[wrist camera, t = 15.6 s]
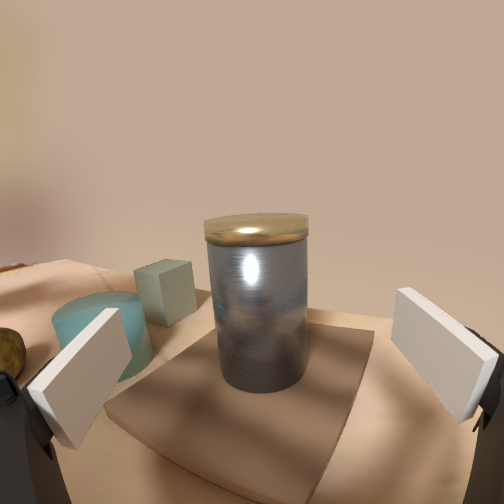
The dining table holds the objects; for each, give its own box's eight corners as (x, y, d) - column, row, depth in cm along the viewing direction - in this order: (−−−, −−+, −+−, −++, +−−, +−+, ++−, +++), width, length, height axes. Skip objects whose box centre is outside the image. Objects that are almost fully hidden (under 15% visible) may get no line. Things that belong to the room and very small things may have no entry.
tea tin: (285, 404, 18) (283, 226, 15) (202, 378, 21) (181, 225, 19) (317, 353, 24) (320, 213, 21) (247, 339, 28) (238, 213, 25)
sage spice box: (168, 327, 34) (158, 274, 33) (143, 319, 37) (133, 270, 35) (197, 310, 39) (191, 261, 38) (172, 304, 42) (165, 259, 40)
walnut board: (299, 516, 10) (301, 506, 10) (108, 417, 18) (102, 404, 18) (372, 343, 27) (374, 330, 26) (239, 322, 35) (238, 311, 34)
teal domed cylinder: (98, 398, 20) (76, 341, 19) (56, 361, 25) (40, 313, 24) (171, 352, 29) (161, 300, 27) (119, 330, 34) (109, 286, 32)
